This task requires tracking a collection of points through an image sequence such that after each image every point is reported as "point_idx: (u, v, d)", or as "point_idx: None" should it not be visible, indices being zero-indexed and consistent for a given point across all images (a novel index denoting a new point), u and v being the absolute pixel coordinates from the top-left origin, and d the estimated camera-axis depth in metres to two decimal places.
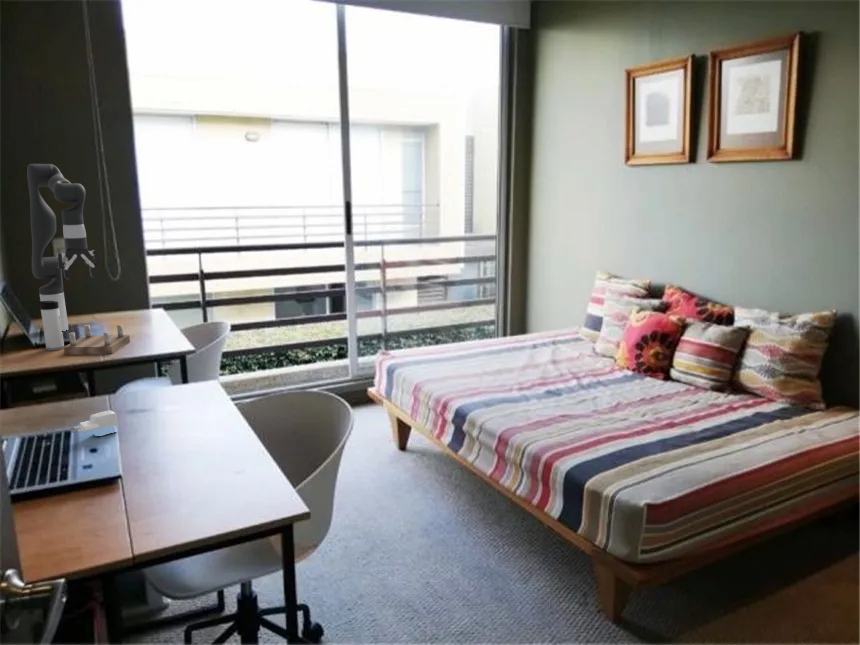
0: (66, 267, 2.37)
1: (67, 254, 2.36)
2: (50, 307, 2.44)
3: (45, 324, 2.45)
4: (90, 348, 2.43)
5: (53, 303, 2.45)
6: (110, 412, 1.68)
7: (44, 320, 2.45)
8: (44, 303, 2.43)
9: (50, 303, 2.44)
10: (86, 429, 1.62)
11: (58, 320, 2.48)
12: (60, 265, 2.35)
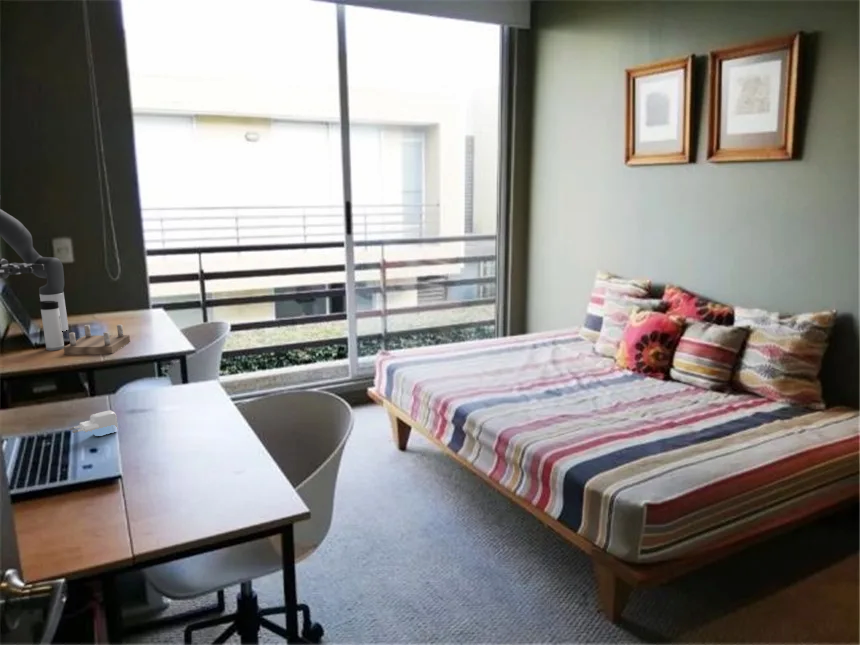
0: None
1: None
2: (50, 307, 2.44)
3: (45, 324, 2.45)
4: (90, 348, 2.43)
5: (53, 303, 2.45)
6: (110, 412, 1.68)
7: (44, 320, 2.45)
8: (44, 303, 2.43)
9: (50, 303, 2.44)
10: (86, 429, 1.62)
11: (58, 320, 2.48)
12: None
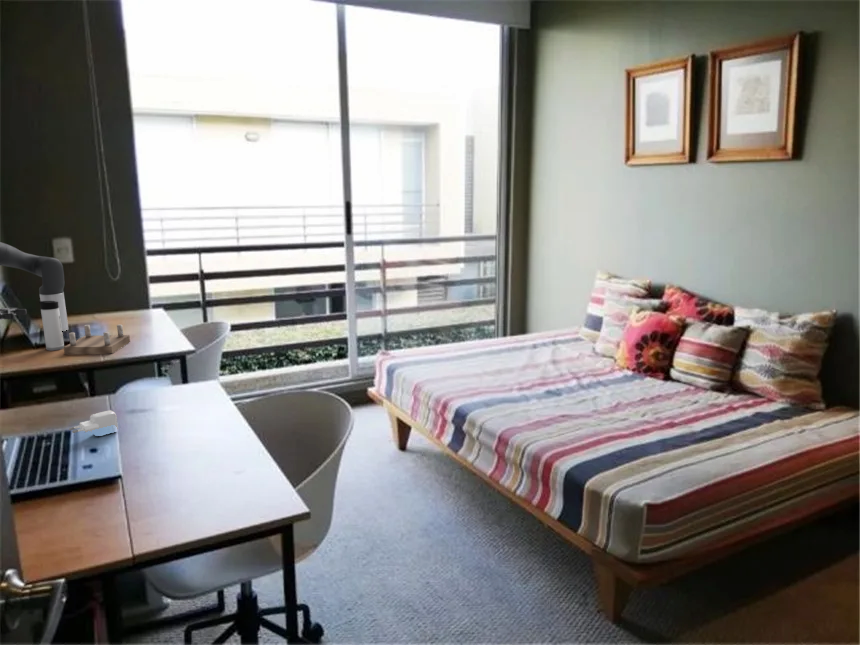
0: (14, 314, 2.51)
1: None
2: (50, 307, 2.44)
3: (45, 324, 2.45)
4: (90, 348, 2.43)
5: (53, 303, 2.45)
6: (110, 412, 1.68)
7: (44, 320, 2.45)
8: (44, 303, 2.43)
9: (50, 303, 2.44)
10: (86, 429, 1.62)
11: (58, 320, 2.48)
12: None
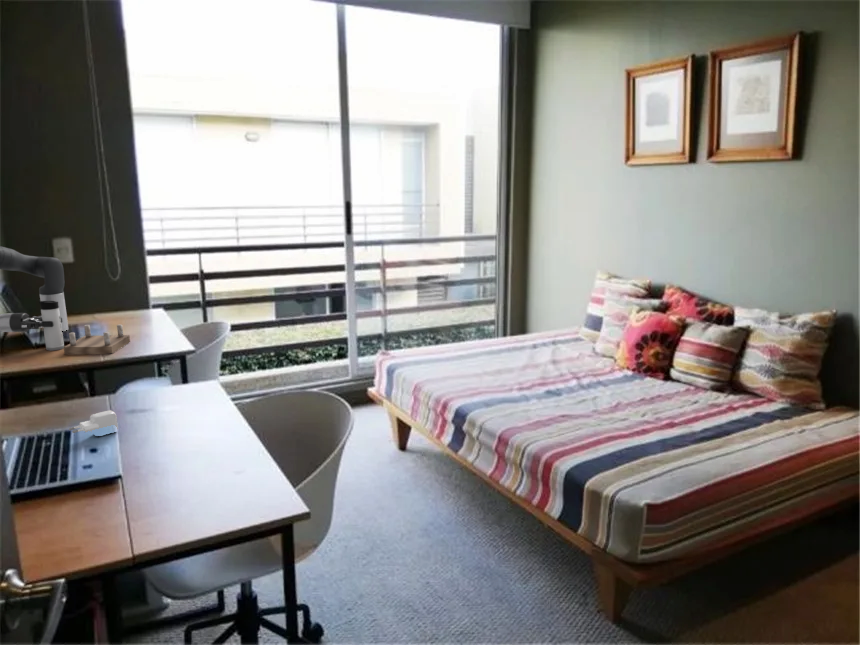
0: None
1: None
2: (50, 307, 2.44)
3: None
4: (90, 348, 2.43)
5: (53, 303, 2.45)
6: (110, 412, 1.68)
7: (44, 320, 2.45)
8: (44, 303, 2.43)
9: (50, 303, 2.44)
10: (86, 429, 1.62)
11: (58, 320, 2.48)
12: None
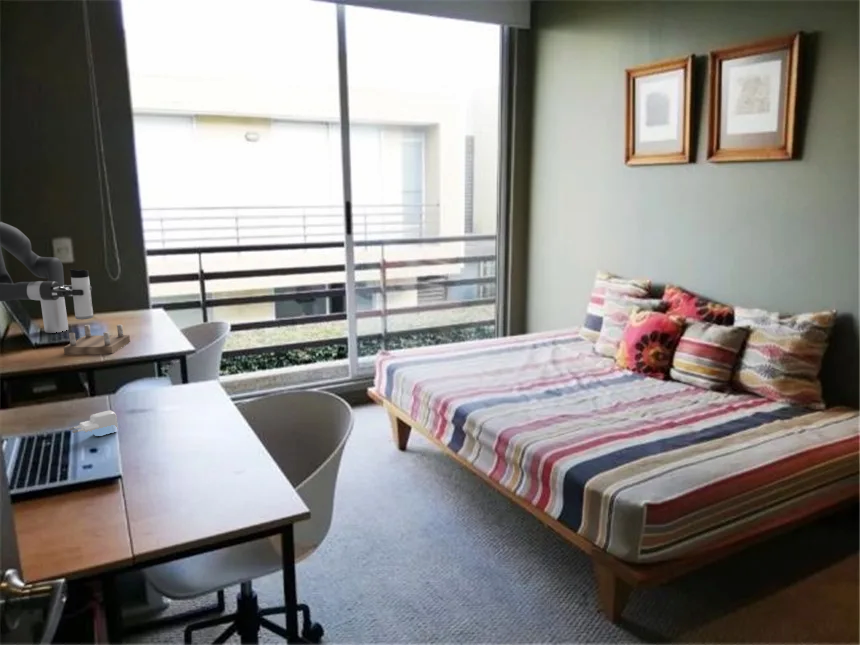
0: None
1: None
2: (80, 275, 2.42)
3: None
4: (90, 348, 2.43)
5: (83, 271, 2.42)
6: (110, 412, 1.68)
7: (74, 288, 2.42)
8: (74, 271, 2.41)
9: (80, 271, 2.41)
10: (86, 429, 1.62)
11: (88, 289, 2.45)
12: None
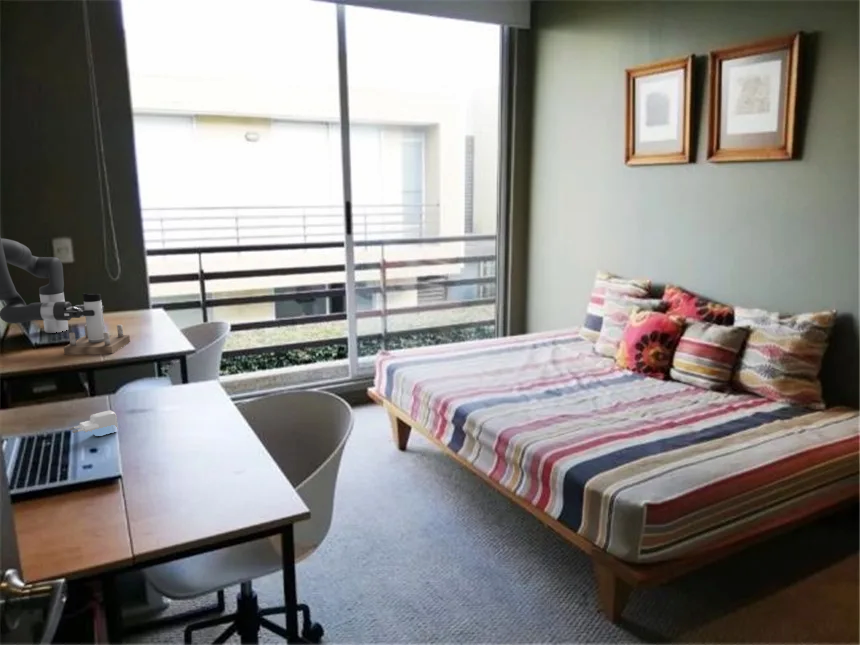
0: None
1: None
2: (93, 299, 2.45)
3: (88, 316, 2.46)
4: (90, 348, 2.43)
5: (96, 295, 2.45)
6: (110, 412, 1.68)
7: None
8: (87, 295, 2.44)
9: (93, 295, 2.44)
10: (86, 429, 1.62)
11: (100, 312, 2.48)
12: None
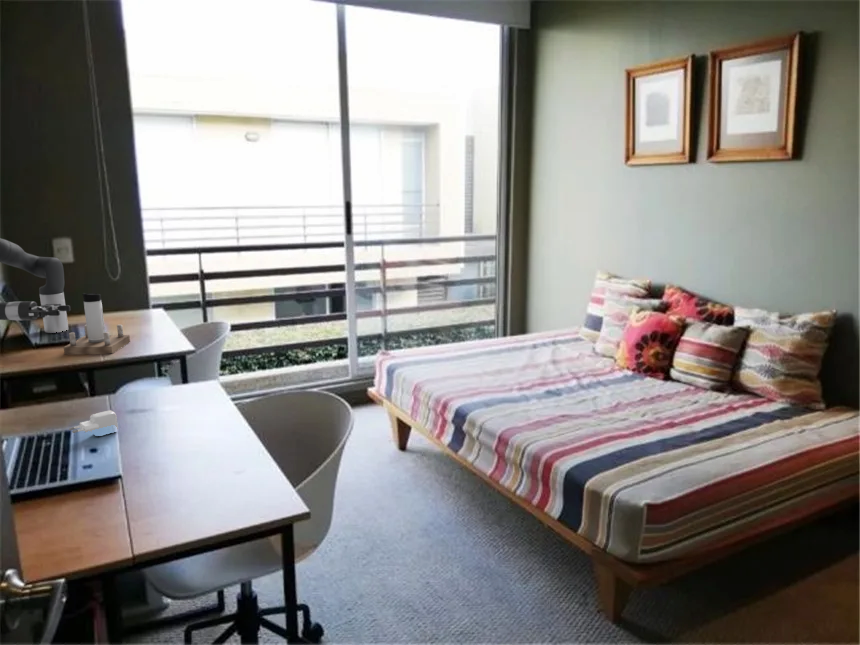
0: None
1: None
2: (93, 300, 2.45)
3: (88, 316, 2.46)
4: (90, 348, 2.43)
5: (96, 295, 2.45)
6: (110, 412, 1.68)
7: (87, 312, 2.45)
8: (87, 295, 2.44)
9: (93, 295, 2.44)
10: (86, 429, 1.62)
11: (100, 312, 2.48)
12: None
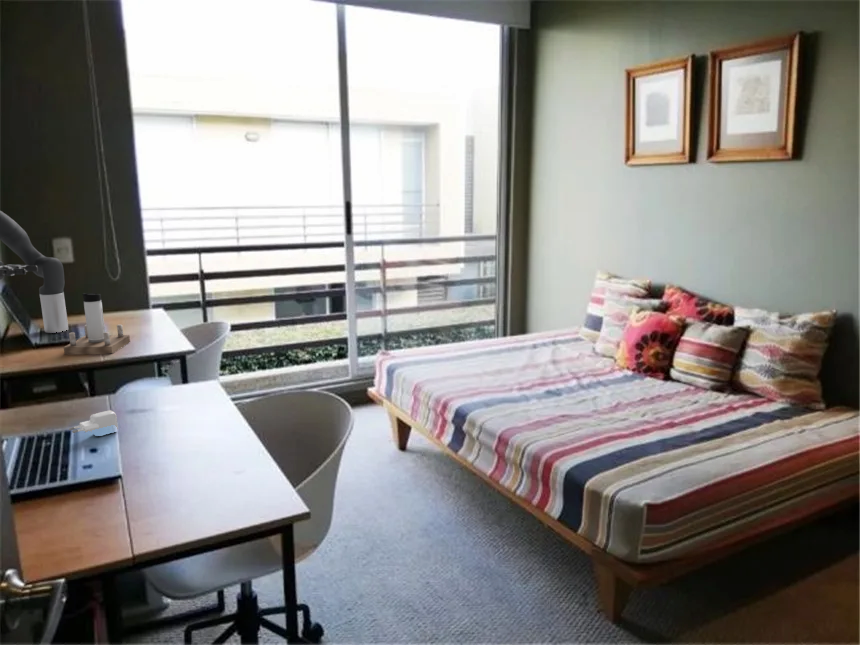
0: (25, 271, 2.48)
1: None
2: (93, 299, 2.45)
3: (88, 316, 2.46)
4: (90, 348, 2.43)
5: (96, 295, 2.45)
6: (110, 412, 1.68)
7: (87, 312, 2.45)
8: (87, 295, 2.44)
9: (93, 295, 2.44)
10: (86, 429, 1.62)
11: (100, 312, 2.48)
12: None
